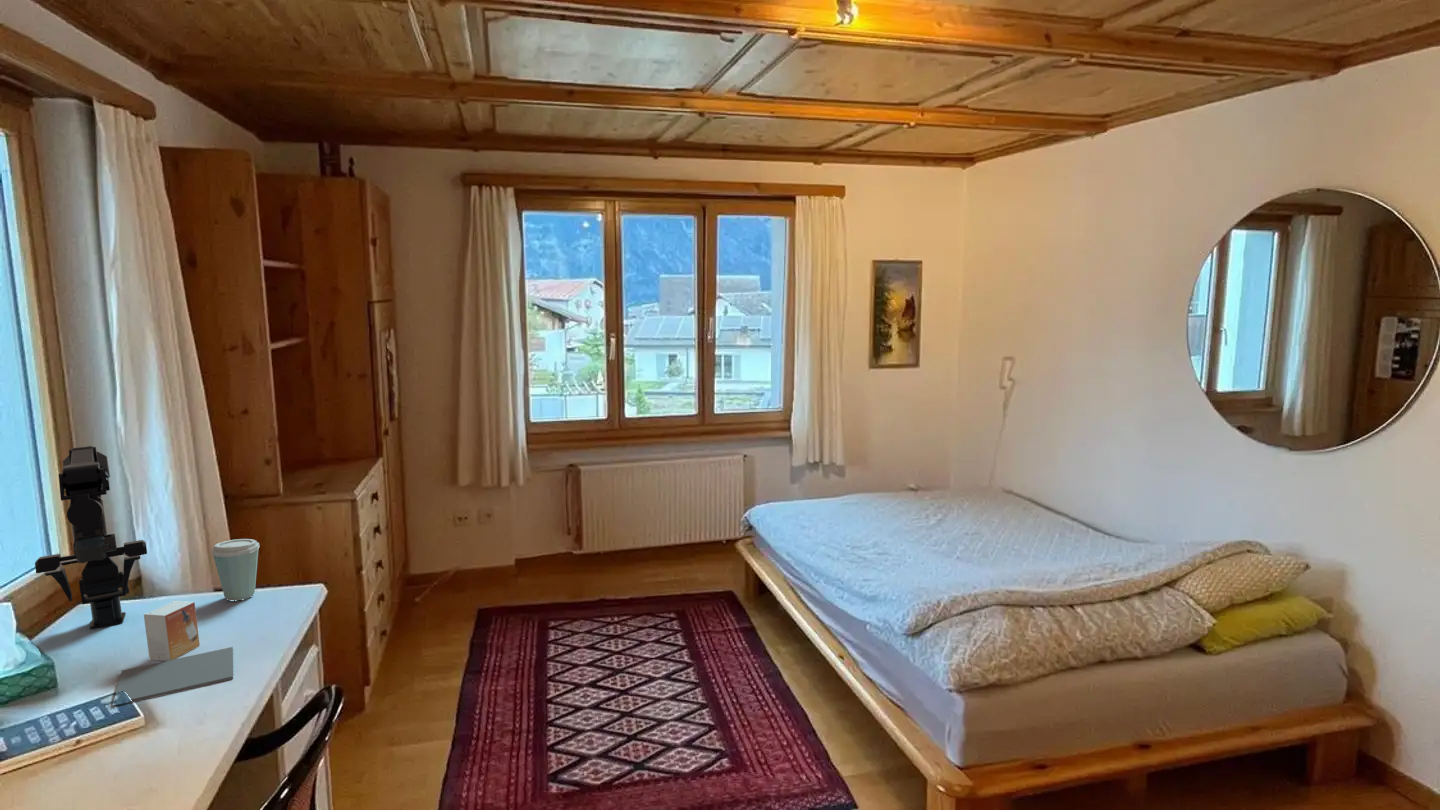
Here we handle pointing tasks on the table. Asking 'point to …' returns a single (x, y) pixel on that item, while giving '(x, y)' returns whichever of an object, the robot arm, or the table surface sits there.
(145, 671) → the charcoal mat
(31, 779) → the table surface
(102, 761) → the table surface
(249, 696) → the table surface
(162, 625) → the small box
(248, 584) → the disposable coffee cup
